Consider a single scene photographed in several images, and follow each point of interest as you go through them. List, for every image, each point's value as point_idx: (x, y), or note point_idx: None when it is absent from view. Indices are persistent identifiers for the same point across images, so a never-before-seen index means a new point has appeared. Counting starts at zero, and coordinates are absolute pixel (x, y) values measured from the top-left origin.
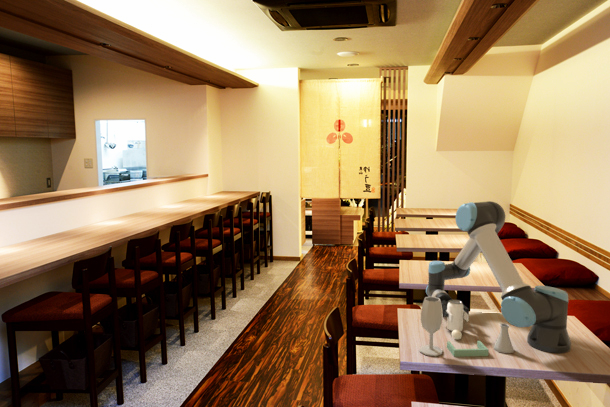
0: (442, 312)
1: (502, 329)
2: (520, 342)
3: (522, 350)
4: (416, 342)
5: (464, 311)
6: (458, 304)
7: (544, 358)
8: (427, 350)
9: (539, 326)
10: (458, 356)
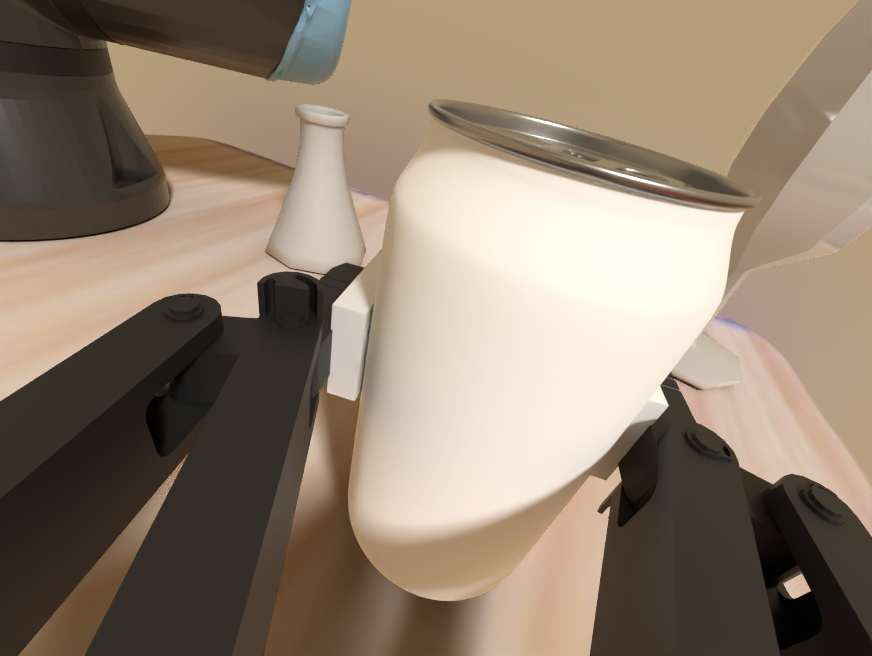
0: (768, 106)
1: (342, 139)
2: (135, 248)
3: (244, 225)
4: (780, 459)
5: (375, 265)
6: (550, 133)
7: (243, 189)
8: (699, 338)
9: (105, 76)
10: None
